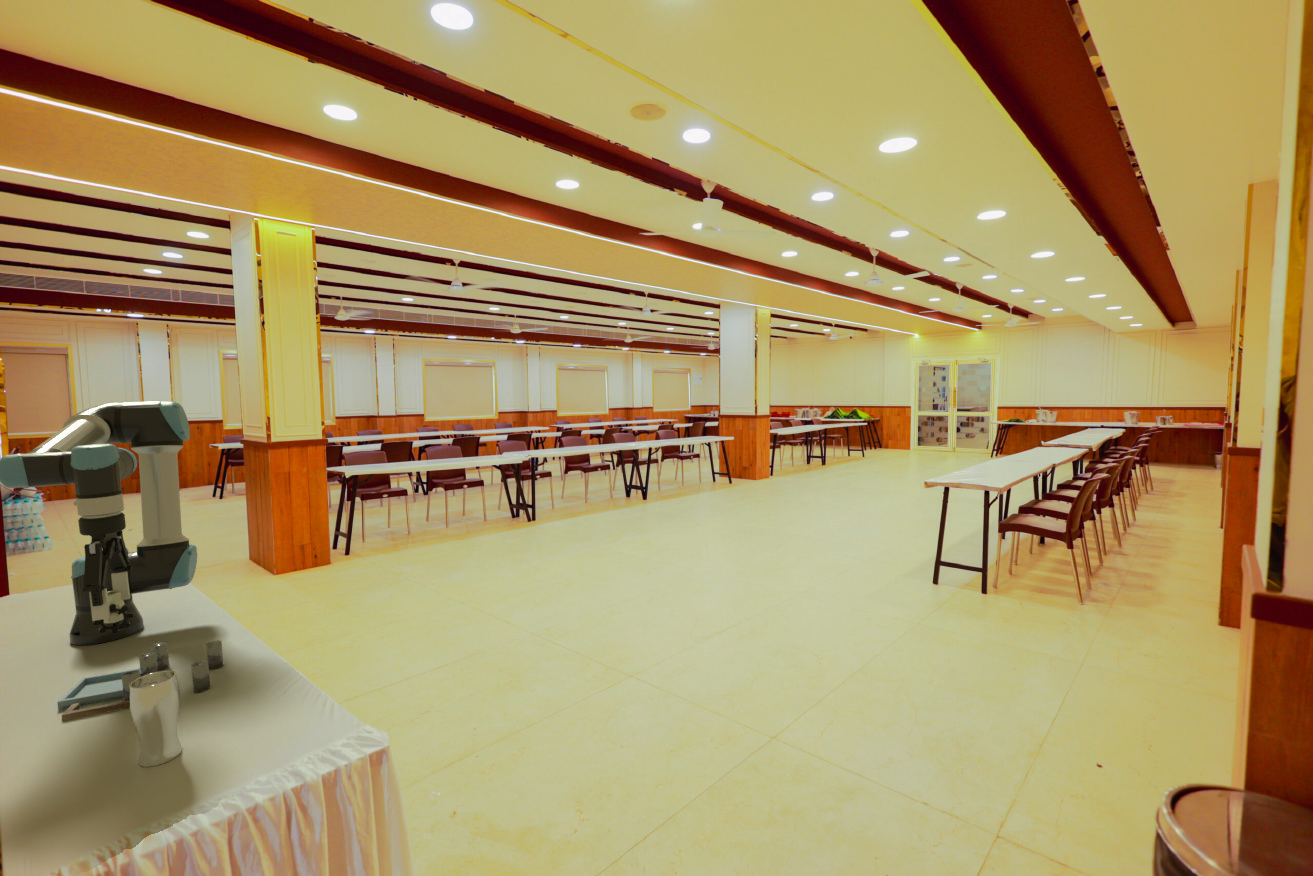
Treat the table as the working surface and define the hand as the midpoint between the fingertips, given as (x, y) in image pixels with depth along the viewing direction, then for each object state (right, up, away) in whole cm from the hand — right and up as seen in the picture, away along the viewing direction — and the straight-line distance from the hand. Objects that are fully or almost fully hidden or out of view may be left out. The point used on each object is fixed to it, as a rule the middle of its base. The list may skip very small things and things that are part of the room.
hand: (112, 609), depth 134 cm
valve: (0, -4, +1) cm, 4 cm away
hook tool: (+5, -19, -6) cm, 21 cm away
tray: (-2, -19, +1) cm, 19 cm away
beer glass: (+31, -21, -24) cm, 44 cm away
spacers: (+11, -18, +6) cm, 22 cm away
